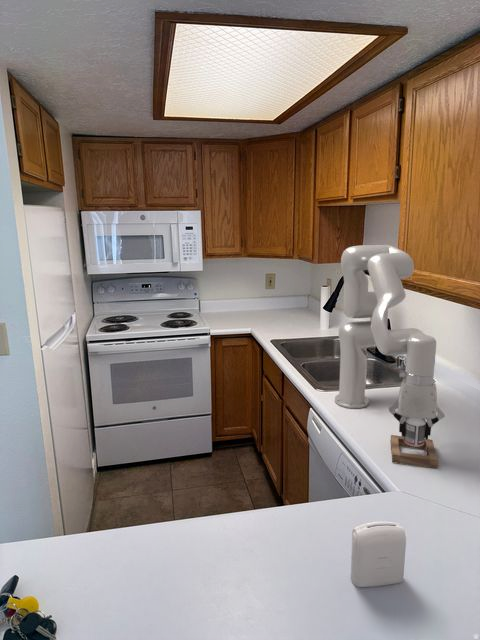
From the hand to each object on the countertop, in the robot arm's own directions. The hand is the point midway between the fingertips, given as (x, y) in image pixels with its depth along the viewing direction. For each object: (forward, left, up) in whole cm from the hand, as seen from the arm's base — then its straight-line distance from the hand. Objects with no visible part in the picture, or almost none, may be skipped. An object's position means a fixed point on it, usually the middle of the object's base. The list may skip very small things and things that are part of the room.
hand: (414, 435), depth 126 cm
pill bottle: (0, 0, -3) cm, 3 cm away
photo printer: (+50, -11, -7) cm, 52 cm away
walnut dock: (0, 0, -6) cm, 6 cm away
